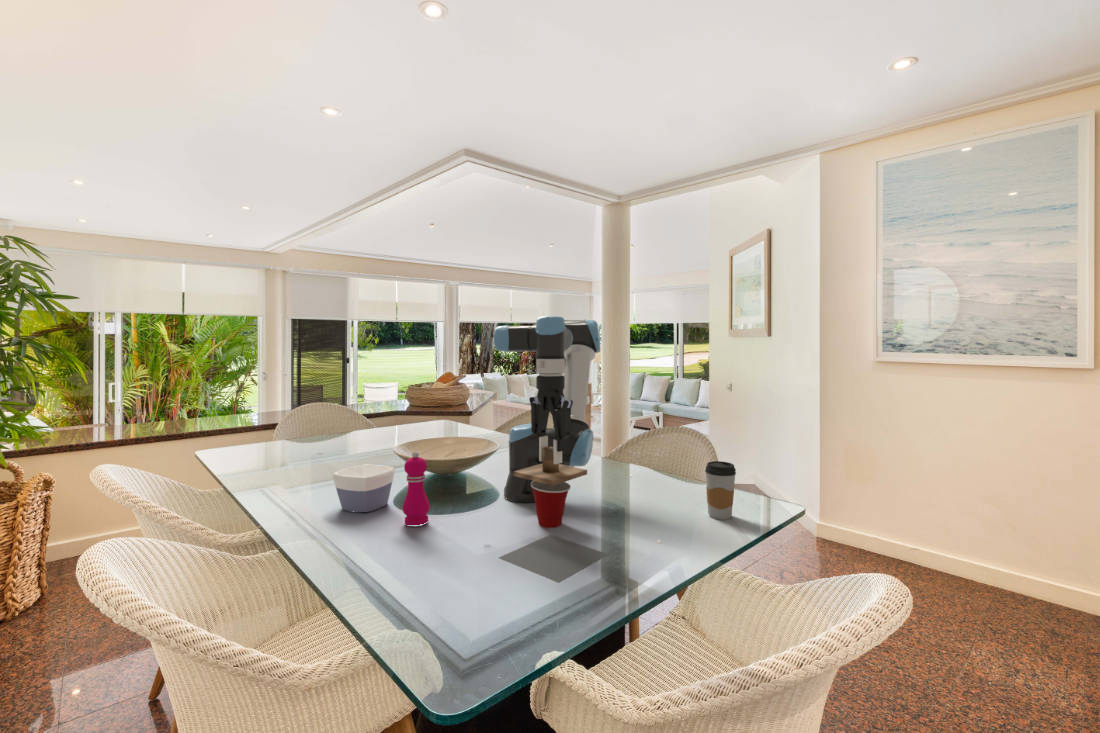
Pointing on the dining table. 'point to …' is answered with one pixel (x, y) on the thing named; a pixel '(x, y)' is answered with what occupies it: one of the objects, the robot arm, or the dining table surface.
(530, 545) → the mat
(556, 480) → the lid
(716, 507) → the coffee cup
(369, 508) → the bowl
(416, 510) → the pepper mill
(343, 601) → the dining table surface
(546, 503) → the plastic cup
